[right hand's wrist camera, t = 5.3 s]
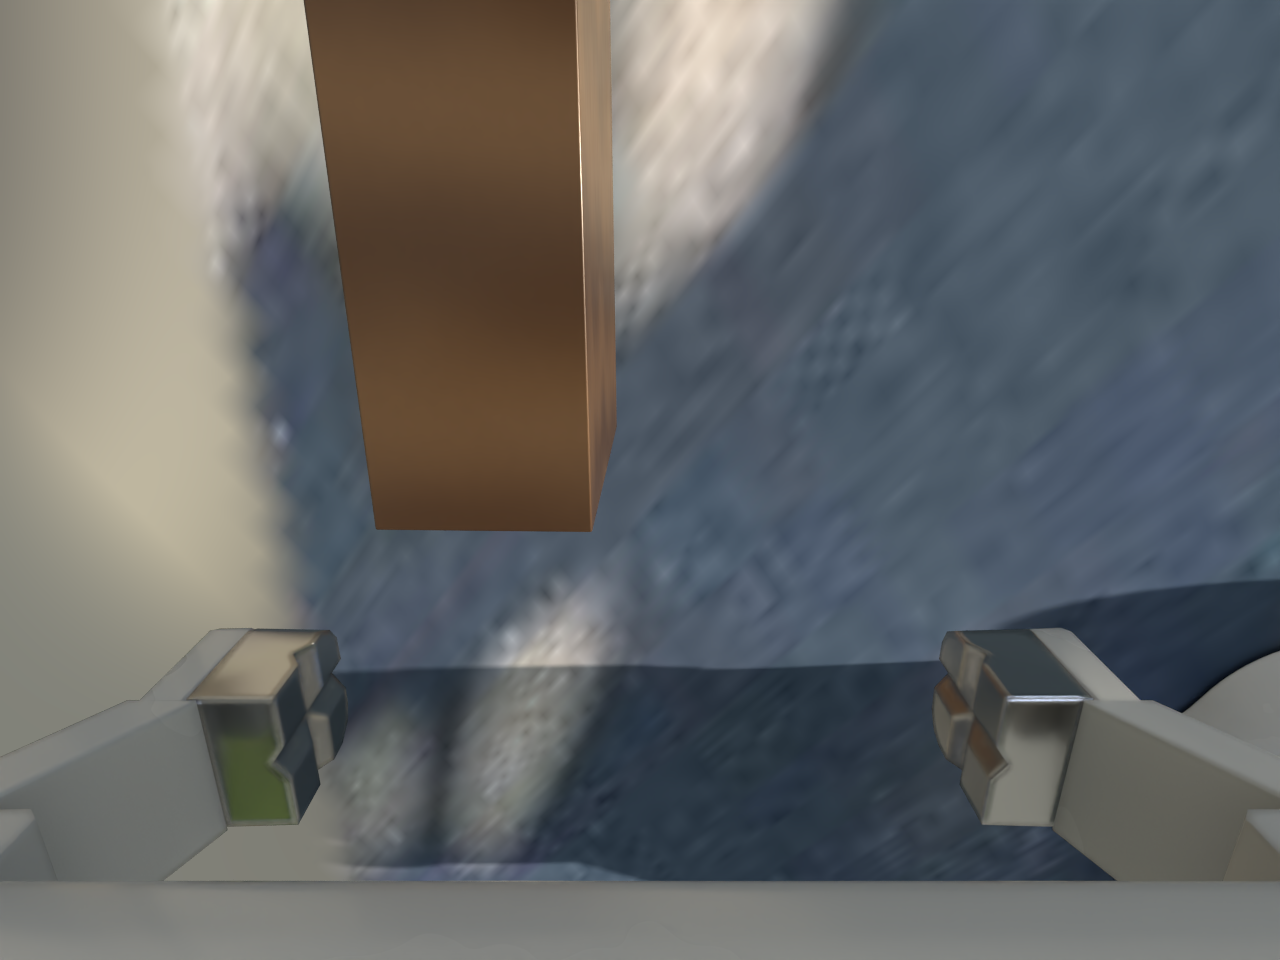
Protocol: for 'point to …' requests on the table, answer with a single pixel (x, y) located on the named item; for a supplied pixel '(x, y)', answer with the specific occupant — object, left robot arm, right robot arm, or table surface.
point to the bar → (474, 252)
